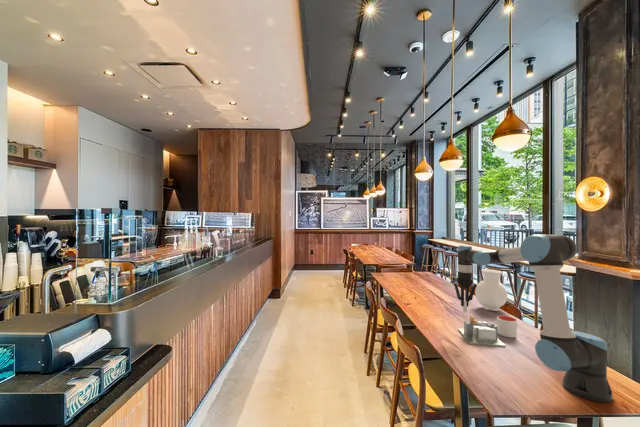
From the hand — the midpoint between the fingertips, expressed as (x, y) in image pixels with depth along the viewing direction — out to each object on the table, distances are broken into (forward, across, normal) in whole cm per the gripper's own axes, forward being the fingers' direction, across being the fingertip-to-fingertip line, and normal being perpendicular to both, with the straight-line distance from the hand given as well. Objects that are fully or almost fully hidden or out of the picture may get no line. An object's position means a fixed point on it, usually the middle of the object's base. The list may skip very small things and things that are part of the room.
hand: (464, 311), depth 170 cm
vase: (+14, -38, -59) cm, 71 cm away
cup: (+15, -27, -9) cm, 32 cm away
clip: (+6, -5, -1) cm, 8 cm away
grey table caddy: (+15, -9, -1) cm, 17 cm away
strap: (+8, -11, -1) cm, 14 cm away
